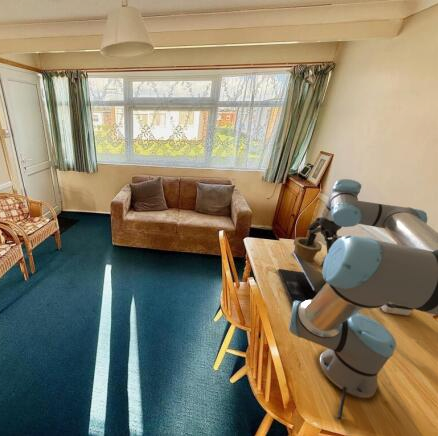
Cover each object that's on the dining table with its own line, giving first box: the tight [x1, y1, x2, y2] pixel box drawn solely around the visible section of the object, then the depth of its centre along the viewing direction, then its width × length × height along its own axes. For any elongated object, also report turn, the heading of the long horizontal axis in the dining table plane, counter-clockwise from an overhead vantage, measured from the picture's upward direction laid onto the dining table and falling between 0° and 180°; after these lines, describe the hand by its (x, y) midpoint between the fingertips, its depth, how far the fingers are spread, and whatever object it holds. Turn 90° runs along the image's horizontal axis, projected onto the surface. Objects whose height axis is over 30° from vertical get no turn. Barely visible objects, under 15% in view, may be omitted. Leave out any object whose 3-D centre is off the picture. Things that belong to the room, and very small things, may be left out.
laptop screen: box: [292, 250, 327, 294], centre depth 110 cm, size 21×30×1 cm
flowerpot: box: [293, 225, 323, 263], centre depth 135 cm, size 14×14×30 cm
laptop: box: [277, 268, 317, 308], centre depth 114 cm, size 21×30×2 cm
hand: (316, 255), depth 102 cm, fingers open, 13 cm apart
